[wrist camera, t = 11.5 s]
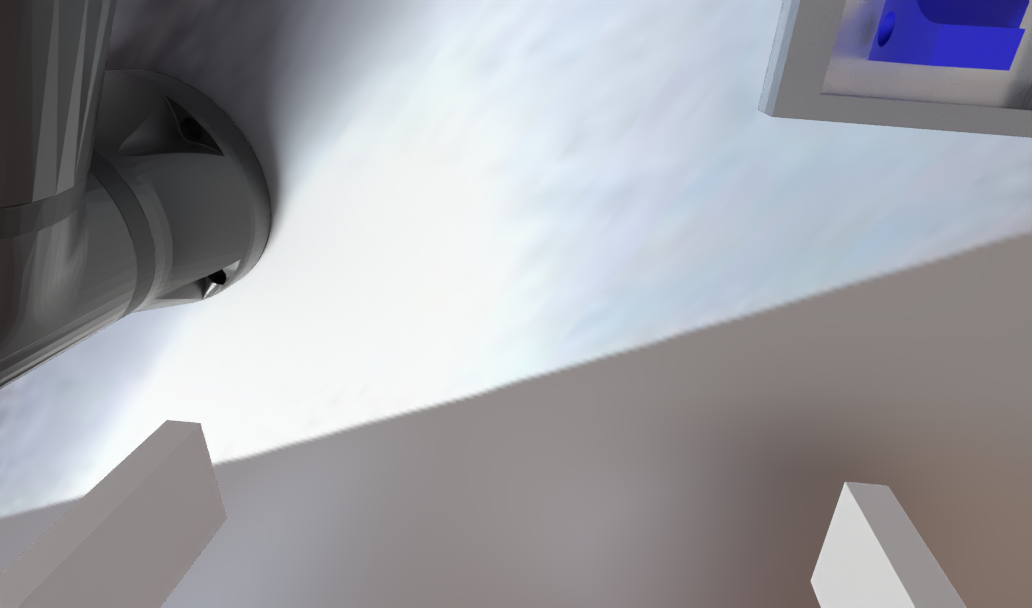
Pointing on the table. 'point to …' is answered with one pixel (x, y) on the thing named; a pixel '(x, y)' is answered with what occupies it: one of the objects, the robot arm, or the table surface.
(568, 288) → the table surface
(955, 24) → the cable clip
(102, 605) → the robot arm
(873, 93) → the grey tray
